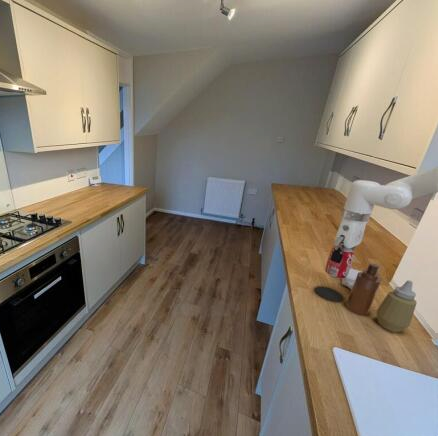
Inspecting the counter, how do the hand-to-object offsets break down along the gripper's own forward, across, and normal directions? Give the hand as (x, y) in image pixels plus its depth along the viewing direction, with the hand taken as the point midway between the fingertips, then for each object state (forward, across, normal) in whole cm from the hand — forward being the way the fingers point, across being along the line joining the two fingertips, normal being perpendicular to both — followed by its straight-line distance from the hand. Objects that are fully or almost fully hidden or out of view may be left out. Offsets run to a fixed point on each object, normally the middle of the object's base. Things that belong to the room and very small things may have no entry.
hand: (340, 258), depth 90 cm
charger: (+17, +15, -3) cm, 23 cm away
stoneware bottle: (+16, 0, -10) cm, 19 cm away
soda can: (+7, 0, 0) cm, 7 cm away
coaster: (+16, 0, 0) cm, 16 cm away
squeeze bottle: (+17, 0, -19) cm, 25 cm away
